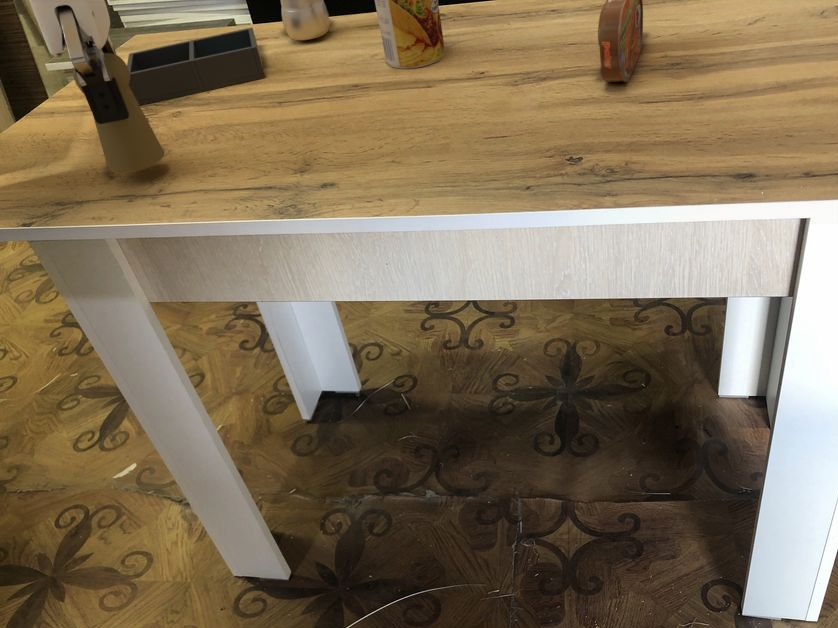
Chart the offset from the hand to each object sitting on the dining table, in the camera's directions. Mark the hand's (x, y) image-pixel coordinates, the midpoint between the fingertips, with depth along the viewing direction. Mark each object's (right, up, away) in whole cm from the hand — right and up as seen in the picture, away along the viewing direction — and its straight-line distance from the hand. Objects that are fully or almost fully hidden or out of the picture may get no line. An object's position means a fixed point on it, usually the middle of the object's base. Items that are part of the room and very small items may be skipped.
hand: (115, 107), depth 80 cm
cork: (+1, -5, +4) cm, 6 cm away
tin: (+54, +8, +12) cm, 56 cm away
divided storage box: (0, +12, +25) cm, 28 cm away
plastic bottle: (+13, +21, +34) cm, 42 cm away
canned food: (+30, +13, +22) cm, 39 cm away
